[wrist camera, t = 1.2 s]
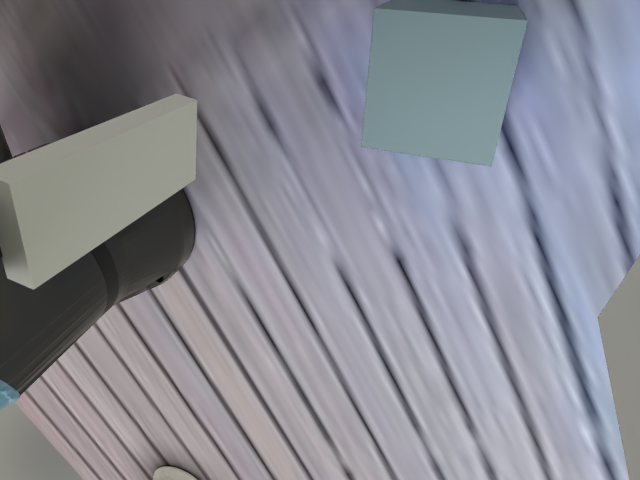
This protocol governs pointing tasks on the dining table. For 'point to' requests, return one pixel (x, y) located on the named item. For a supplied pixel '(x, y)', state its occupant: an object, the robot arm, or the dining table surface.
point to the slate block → (441, 77)
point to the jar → (172, 474)
